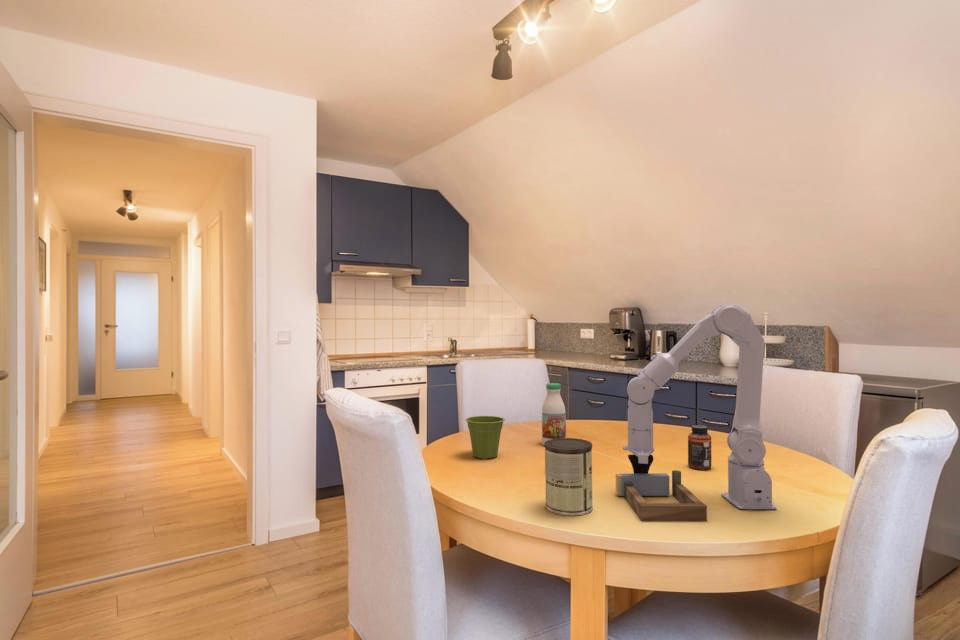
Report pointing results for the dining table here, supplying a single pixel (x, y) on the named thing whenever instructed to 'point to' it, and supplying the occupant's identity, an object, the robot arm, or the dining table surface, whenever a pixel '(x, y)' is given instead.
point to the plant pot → (485, 435)
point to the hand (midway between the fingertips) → (640, 486)
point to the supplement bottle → (699, 448)
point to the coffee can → (568, 476)
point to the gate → (644, 484)
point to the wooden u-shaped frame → (668, 504)
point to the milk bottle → (553, 414)
